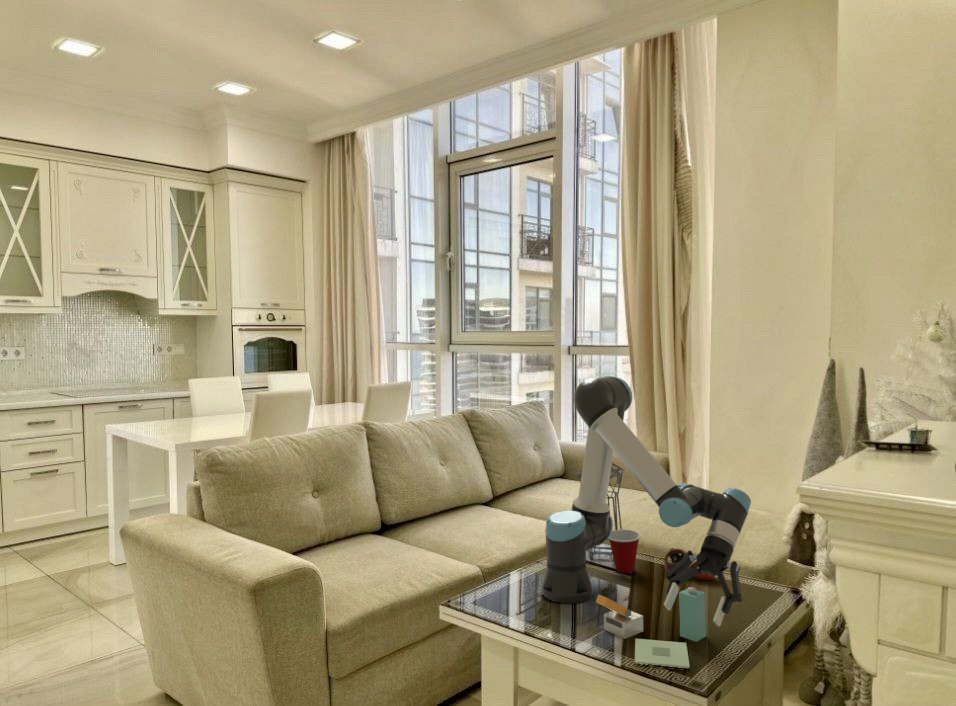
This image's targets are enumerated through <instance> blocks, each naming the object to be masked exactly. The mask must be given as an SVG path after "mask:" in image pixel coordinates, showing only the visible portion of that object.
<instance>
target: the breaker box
mask: <svg viewBox="0 0 956 706" xmlns="http://www.w3.org/2000/svg"><path fill="white" fill-rule="evenodd" d="M630 611H631V616H630V617H628V616H624V615H621V614H619V613H617V612H614V611H612V610H610V611H608V612H605V613H603V630H604V631H606V632H608V633H611V634H613V635H615V636H617V637H619V638H622V639H624V640H626V639H628V638H630V637H633V636H635V635H638V634H640V633H643V632H644V615H642V614H640V613H637V612H635V611H632V610H630Z"/></svg>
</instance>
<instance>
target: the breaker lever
mask: <svg viewBox="0 0 956 706" xmlns="http://www.w3.org/2000/svg"><path fill="white" fill-rule="evenodd" d="M595 603H597V604H598V605H601V606H602V607H604V608H606V609H609V610H610V611H614V612H617V613H619V614H621V615H624V616H628V617H630V616H631V611H632V610H630V609H629V608H628V607H626V606H624V605H622V604H620V603H618V602H616V601H614V600H612V599H610V598H608V597H606V596H603V595H601V594H597V598H596V599H595Z"/></svg>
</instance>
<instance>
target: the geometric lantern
mask: <svg viewBox="0 0 956 706" xmlns="http://www.w3.org/2000/svg"><path fill="white" fill-rule="evenodd" d="M582 469H583V467H581V468H580V469H579V470H578V471H577V472H575V473H574V475H575V477H576V478H577V480H579V484H580V483H581V476H582ZM624 471H625V469H624V468H622V467H621V466H618V465H617V464H615V463H614V462H612V465H611V472H610V478H609V480H611V479H613V478H614V477H616V483H615V484H614V487H612V485H611V482H609V486H610V488H611V489H612V490H611V491H610V490H608V492H607V498H606V499H607V504H608V506H609V507H610V499H612V508H613V519H614V520H613V522H614V527H615V528H614V530H622V529H623V527H622V520H621V519H622V518H621V511H620V509H621V508H620V500H619V499H620V498H619V493H620V489H621V483H622V482H623V481H622V479H623V474H624ZM617 484H618V489H617V491H615V490H616V489H615V488H616V485H617ZM608 493H611V495H609V494H608ZM613 494H614V496H613ZM609 513H610V514H611V511H610V512H609ZM618 520H619V521H618ZM618 522H619V528H620V529H618ZM606 541H609V538H608V539H607V540H606ZM596 549H597V550H608V551H609V552H608V551H600V552H601V553H597V552H599V551H596ZM587 552H588V553H589V558H592V559H594V555H595V554H596V555H609V556H610V560H613V561H614V559H613V554H612V549H611V546H596V547H594V548H592V549H590V550H588V551H587ZM591 554H592V555H591ZM592 559H591V560H592ZM597 559H598V560H597V561H606V560H609V559H605V558H597Z"/></svg>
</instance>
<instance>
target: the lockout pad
mask: <svg viewBox="0 0 956 706" xmlns="http://www.w3.org/2000/svg"><path fill="white" fill-rule="evenodd" d="M634 639H635V640H634V641H635V642H634V664H635V663H642V664H652V665H661V666H669V667H678V668H690V669H691V667H690V660H689V654H688V646H687V642H680V641H679V642H678V641H667V640H658V639H657V640H656V639H655V640H654V639H645V638H634Z"/></svg>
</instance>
